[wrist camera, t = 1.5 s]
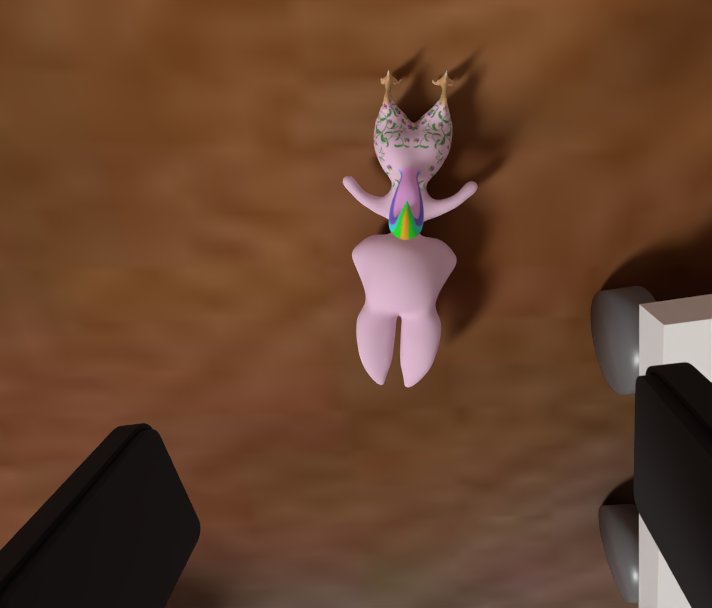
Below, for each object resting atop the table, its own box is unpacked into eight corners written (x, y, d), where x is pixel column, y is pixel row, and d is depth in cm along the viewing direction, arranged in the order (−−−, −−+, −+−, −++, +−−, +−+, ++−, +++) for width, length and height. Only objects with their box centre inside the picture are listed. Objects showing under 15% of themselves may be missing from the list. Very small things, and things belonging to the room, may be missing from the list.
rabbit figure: (353, 85, 22) (340, 368, 26) (333, 47, 17) (320, 417, 20) (481, 89, 22) (451, 379, 25) (506, 49, 16) (462, 432, 20)
